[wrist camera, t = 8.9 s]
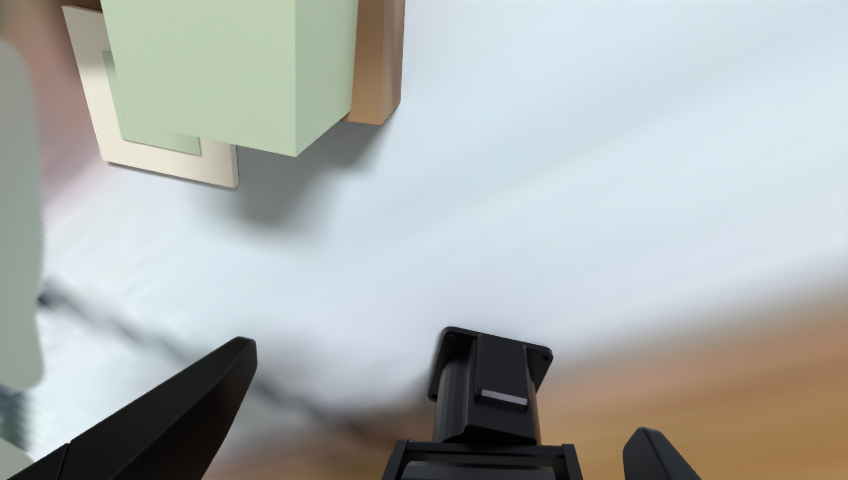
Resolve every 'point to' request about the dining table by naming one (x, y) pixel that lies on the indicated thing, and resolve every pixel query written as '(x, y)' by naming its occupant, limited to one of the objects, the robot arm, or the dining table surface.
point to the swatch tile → (136, 140)
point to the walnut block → (377, 61)
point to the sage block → (235, 67)
